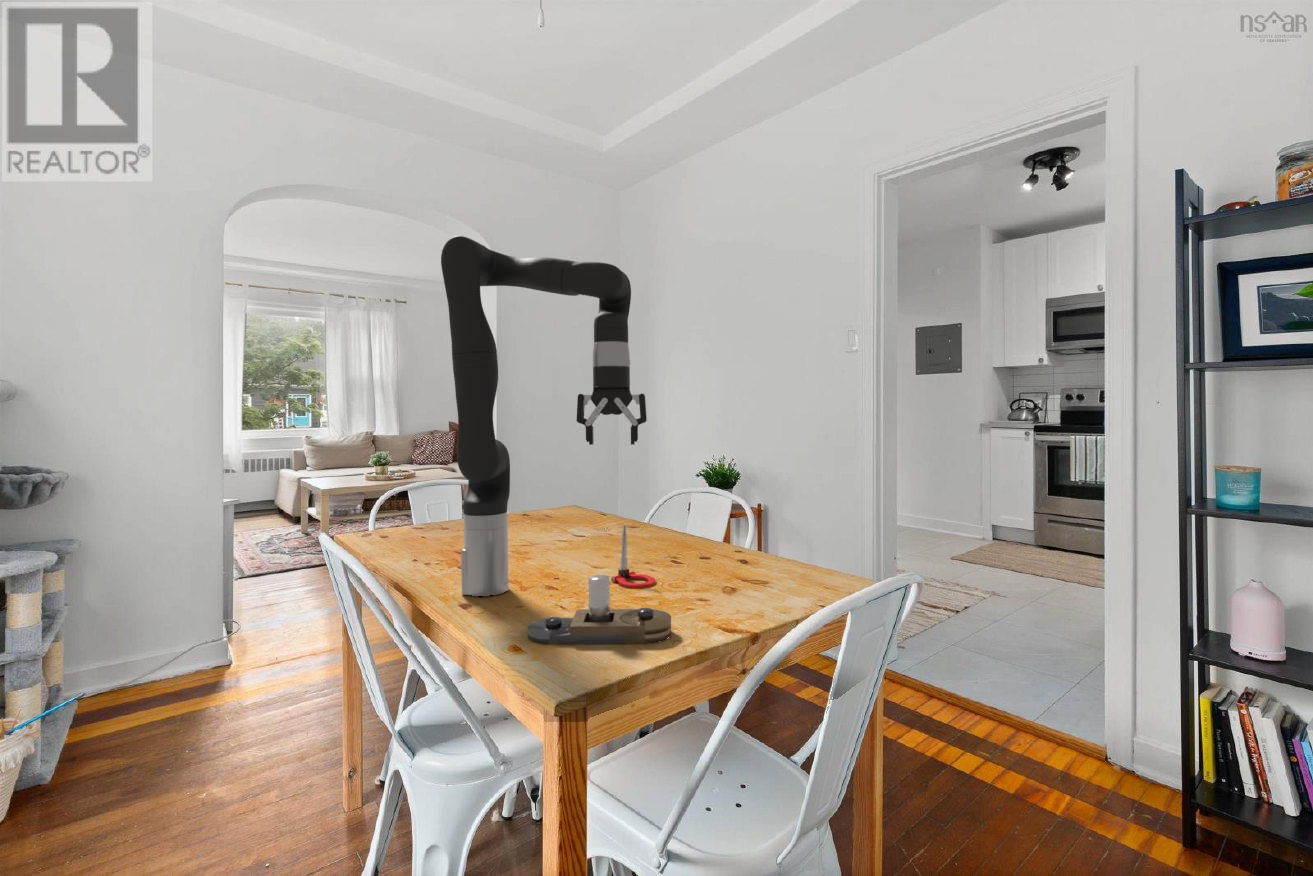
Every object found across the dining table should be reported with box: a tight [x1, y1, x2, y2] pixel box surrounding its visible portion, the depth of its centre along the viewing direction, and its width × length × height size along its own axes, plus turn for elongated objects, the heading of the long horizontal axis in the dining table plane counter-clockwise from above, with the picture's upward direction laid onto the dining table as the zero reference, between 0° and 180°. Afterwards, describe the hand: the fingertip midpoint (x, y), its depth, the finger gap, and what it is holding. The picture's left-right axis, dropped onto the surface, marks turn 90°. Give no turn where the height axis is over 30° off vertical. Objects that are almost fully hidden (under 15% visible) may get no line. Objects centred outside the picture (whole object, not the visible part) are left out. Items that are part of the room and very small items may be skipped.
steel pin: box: [587, 574, 611, 622], centre depth 109 cm, size 4×4×10 cm
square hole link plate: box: [526, 607, 672, 645], centre depth 109 cm, size 25×9×4 cm, turn 90°
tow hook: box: [610, 524, 656, 589], centre depth 142 cm, size 8×13×9 cm
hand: (612, 444), depth 129 cm, fingers open, 8 cm apart
